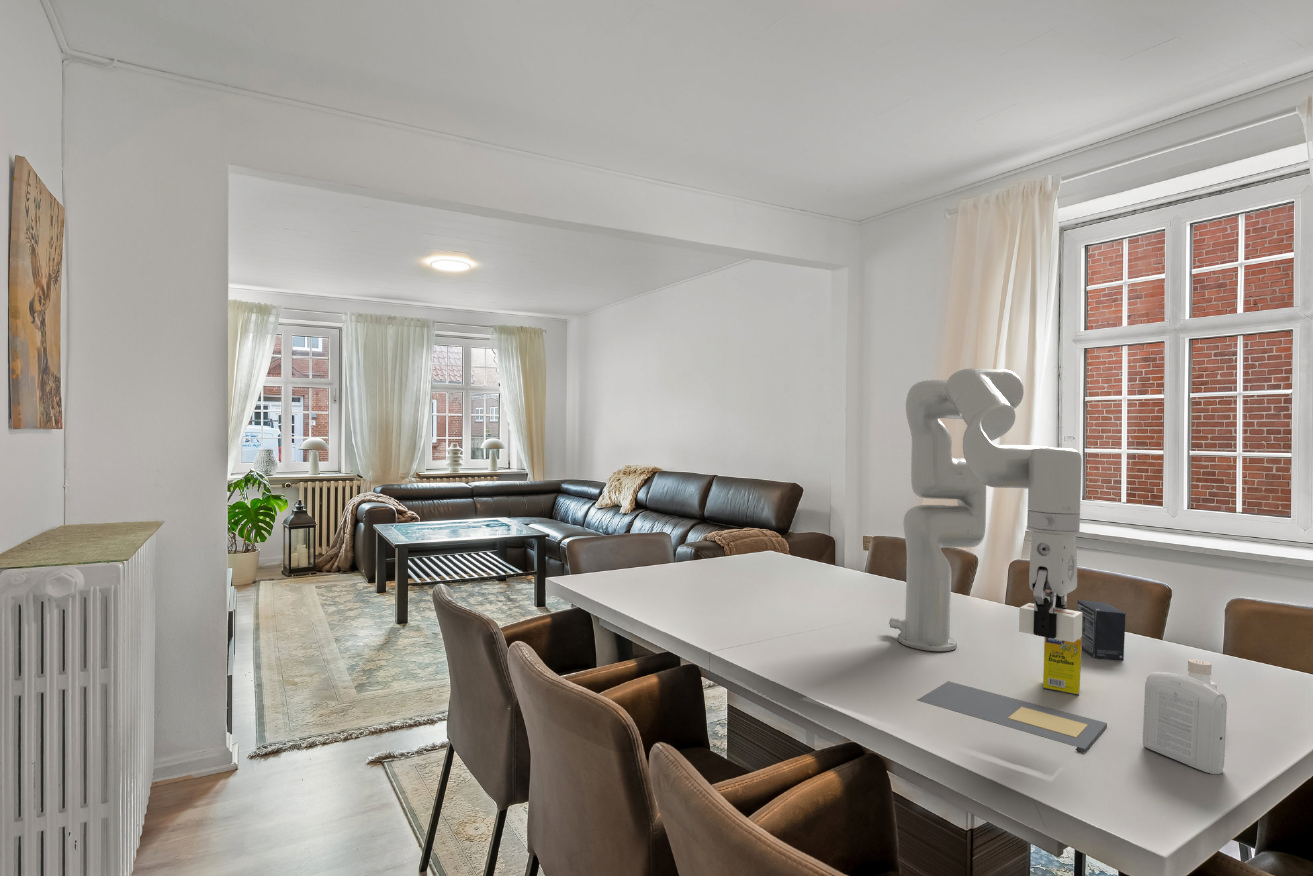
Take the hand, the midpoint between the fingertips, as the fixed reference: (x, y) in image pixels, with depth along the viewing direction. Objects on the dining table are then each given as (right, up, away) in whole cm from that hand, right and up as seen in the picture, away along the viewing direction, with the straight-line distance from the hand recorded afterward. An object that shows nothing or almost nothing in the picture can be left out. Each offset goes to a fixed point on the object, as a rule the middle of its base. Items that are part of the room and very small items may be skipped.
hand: (1049, 632), depth 115 cm
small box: (+34, -16, +42) cm, 56 cm away
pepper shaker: (+29, -16, +5) cm, 33 cm away
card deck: (0, 0, 0) cm, 0 cm away
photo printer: (+13, -16, -11) cm, 24 cm away
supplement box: (+11, -16, +16) cm, 26 cm away
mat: (-5, -15, +4) cm, 17 cm away
